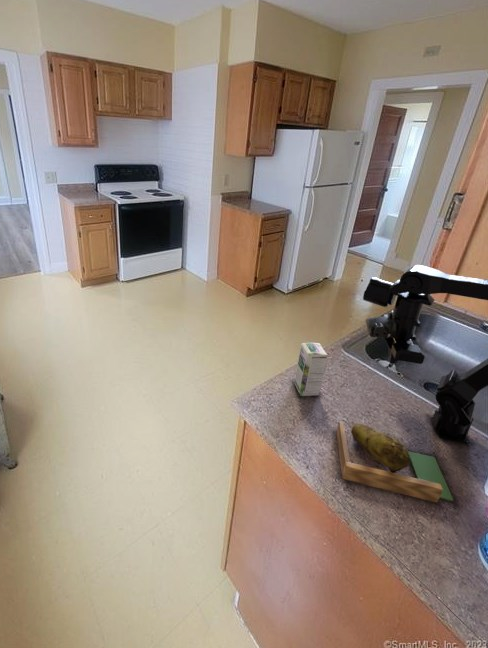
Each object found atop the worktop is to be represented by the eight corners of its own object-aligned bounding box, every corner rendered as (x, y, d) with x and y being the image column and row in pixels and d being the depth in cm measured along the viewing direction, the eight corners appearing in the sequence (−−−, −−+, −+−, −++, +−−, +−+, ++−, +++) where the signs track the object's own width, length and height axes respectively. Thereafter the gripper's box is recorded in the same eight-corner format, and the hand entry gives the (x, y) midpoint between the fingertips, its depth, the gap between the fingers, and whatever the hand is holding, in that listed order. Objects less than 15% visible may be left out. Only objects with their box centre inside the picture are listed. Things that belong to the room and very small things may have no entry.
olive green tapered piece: (377, 432, 81) (385, 408, 78) (410, 483, 69) (421, 457, 66) (345, 433, 81) (352, 409, 78) (373, 484, 69) (382, 458, 66)
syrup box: (293, 382, 97) (300, 342, 92) (312, 382, 98) (319, 342, 92) (300, 396, 92) (307, 355, 87) (320, 395, 93) (328, 354, 87)
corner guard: (416, 451, 77) (421, 439, 75) (437, 502, 66) (443, 489, 64) (336, 433, 81) (339, 421, 79) (342, 479, 70) (346, 466, 68)
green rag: (434, 458, 75) (434, 457, 75) (453, 501, 66) (453, 500, 66) (407, 452, 76) (408, 451, 76) (422, 493, 67) (423, 492, 67)
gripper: (365, 293, 93) (354, 339, 99) (380, 327, 76) (366, 379, 82) (408, 299, 90) (394, 345, 96) (433, 335, 73) (415, 388, 79)
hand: (391, 362), depth 88 cm, fingers closed
